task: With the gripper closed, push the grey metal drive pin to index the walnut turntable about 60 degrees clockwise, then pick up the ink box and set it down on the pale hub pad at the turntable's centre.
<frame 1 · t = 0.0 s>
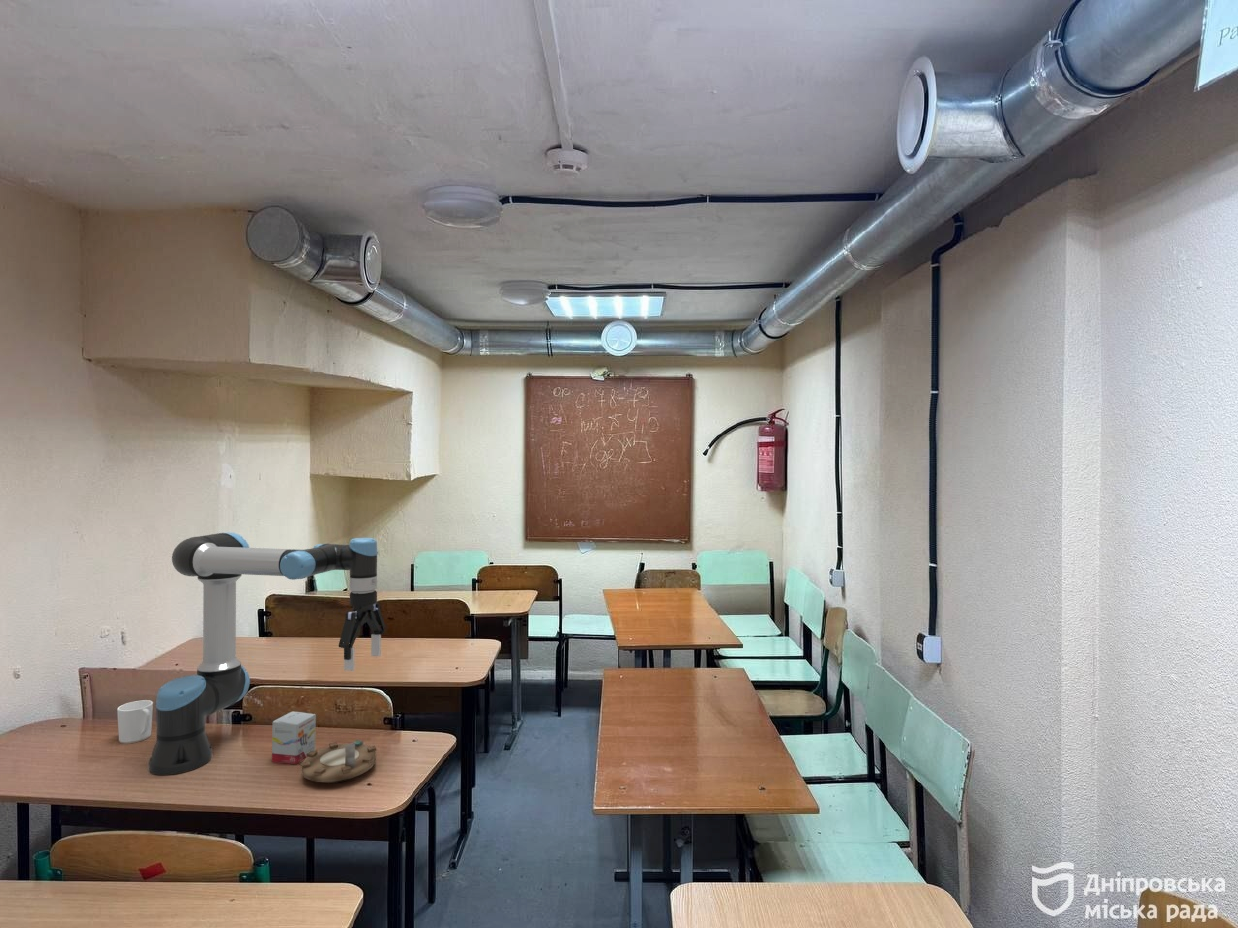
hand: (363, 662, 189), 28 cm above the table, fingers open, 13 cm apart
turntable: (339, 750, 181), point 6 cm above the table, hinge at 0.0°
ink box: (294, 757, 190), on the table
turntable base: (339, 772, 181), on the table
mug: (137, 739, 201), on the table
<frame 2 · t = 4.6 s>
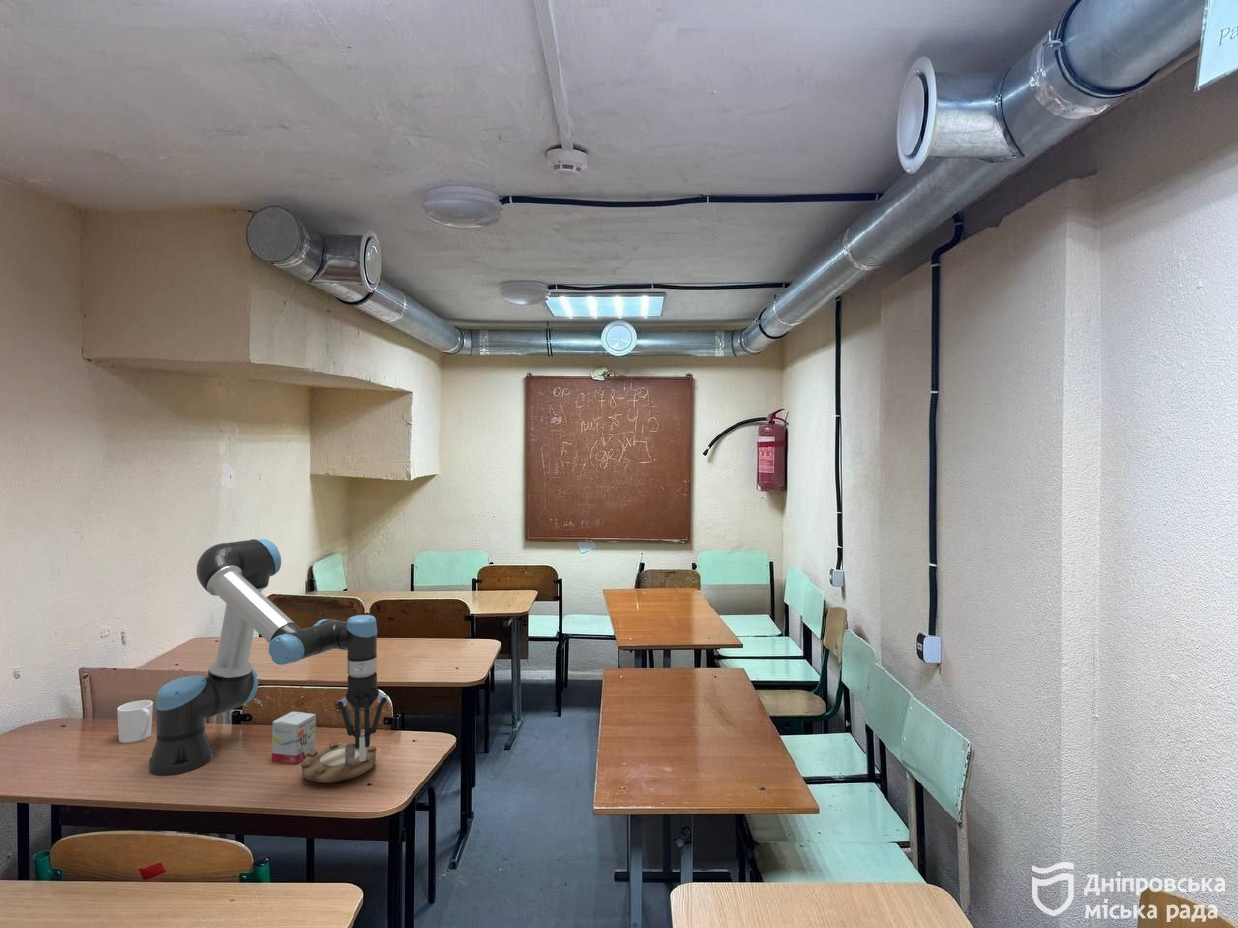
hand: (362, 758, 176), 6 cm above the table, fingers closed
turntable: (339, 750, 181), point 6 cm above the table, hinge at -0.3°, touching gripper
everything else where it was.
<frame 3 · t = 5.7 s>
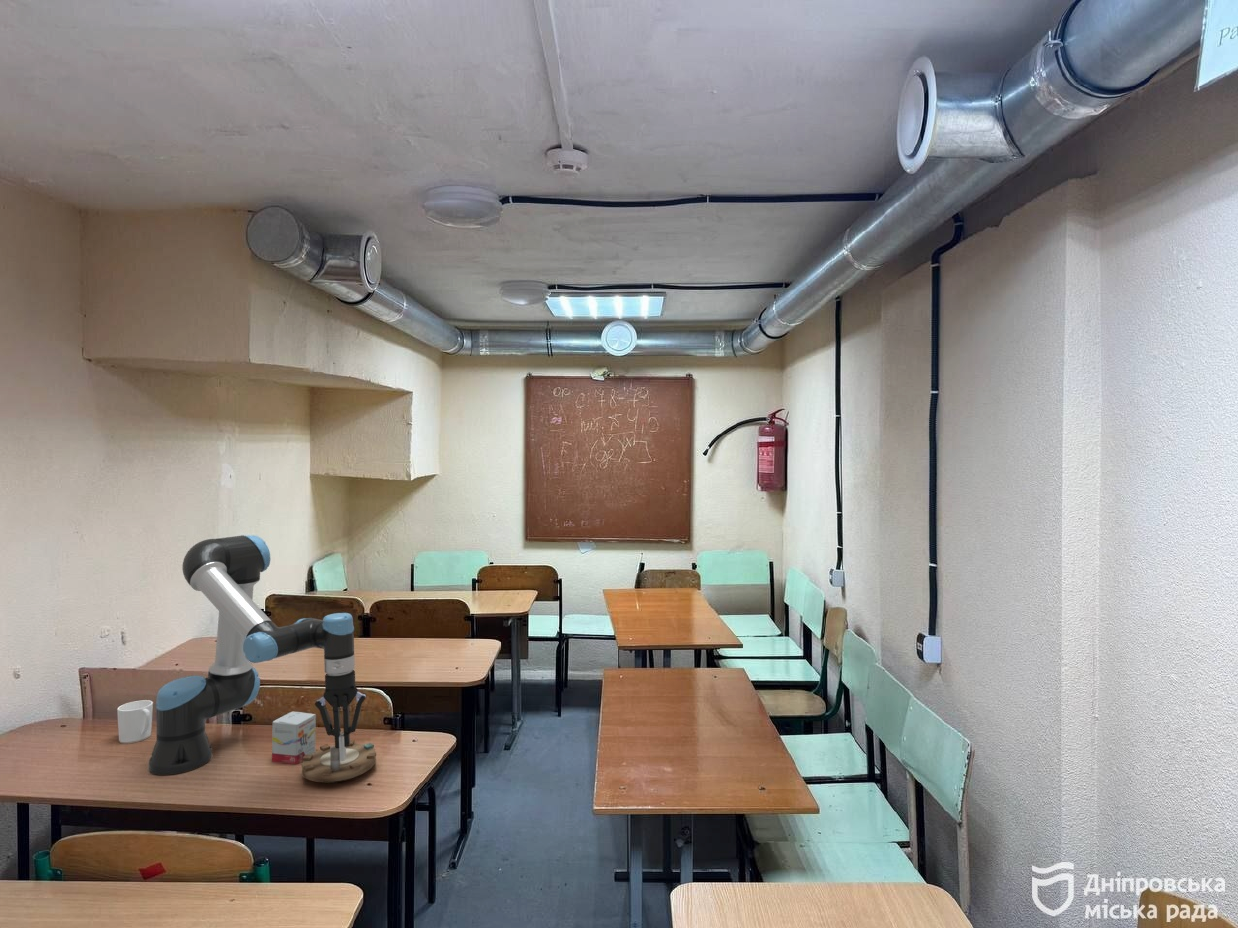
hand: (343, 758, 174), 7 cm above the table, fingers closed
turntable: (339, 750, 181), point 6 cm above the table, hinge at -29.5°, touching gripper
everything else where it was.
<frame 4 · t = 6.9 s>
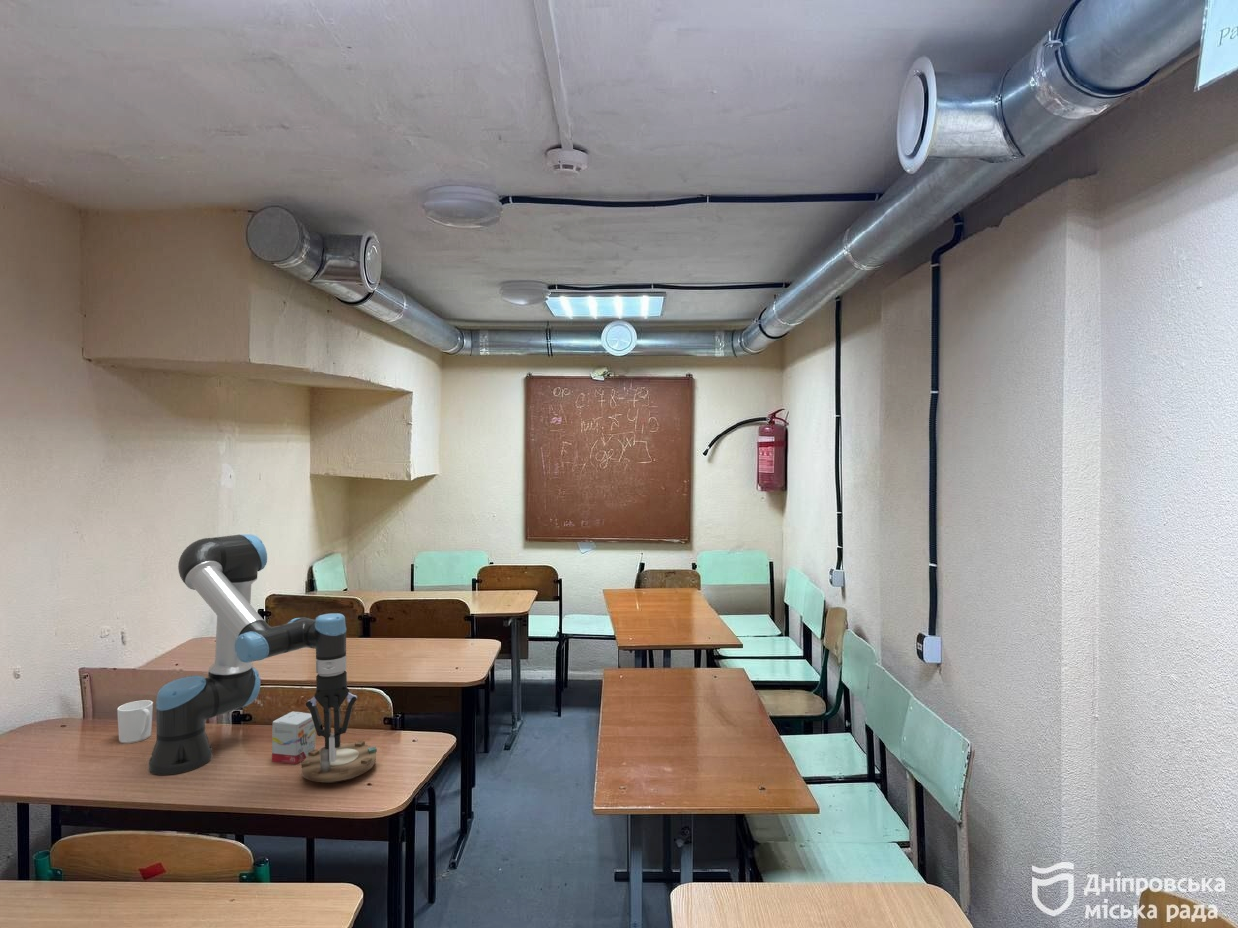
hand: (333, 759, 174), 7 cm above the table, fingers closed
turntable: (339, 750, 181), point 6 cm above the table, hinge at -49.7°, touching gripper
everything else where it was.
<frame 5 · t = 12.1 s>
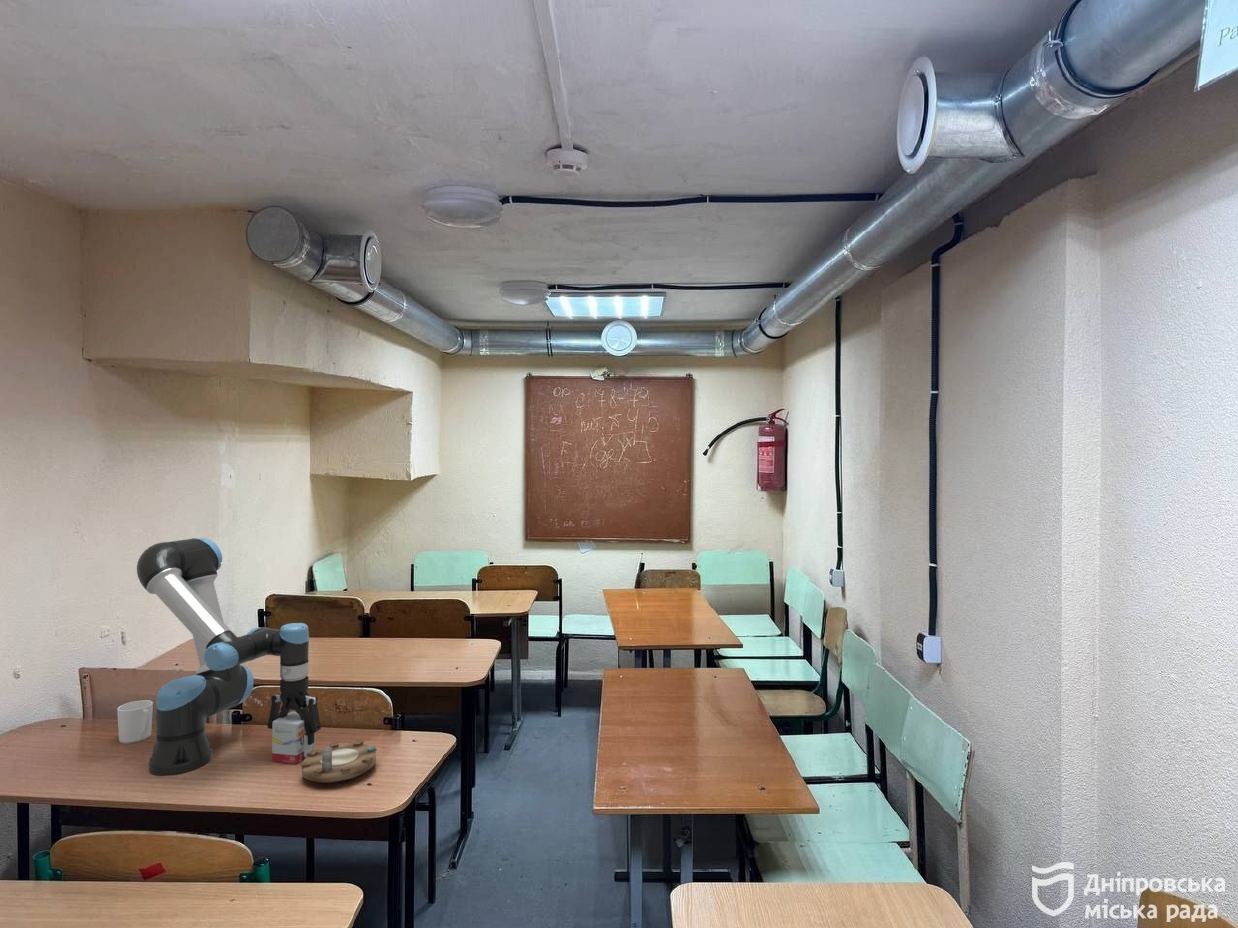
hand: (294, 753, 190), 1 cm above the table, fingers closed on ink box, 9 cm apart
turntable: (339, 750, 181), point 6 cm above the table, hinge at -46.2°
ink box: (294, 757, 190), on the table, touching gripper
everything else where it was.
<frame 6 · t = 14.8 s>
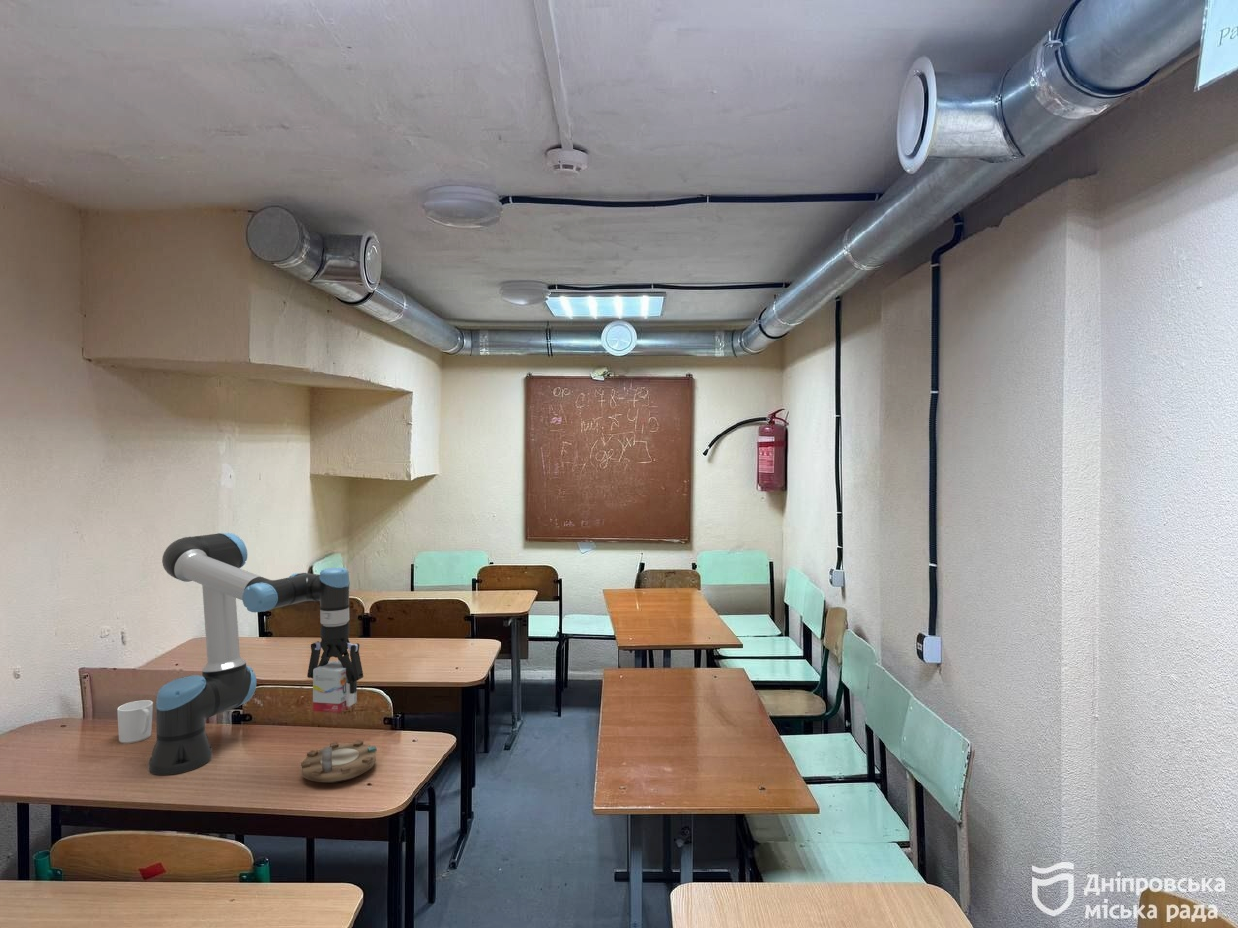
hand: (335, 703, 181), 19 cm above the table, fingers closed on ink box, 9 cm apart
ink box: (335, 707, 181), point 18 cm above the table, touching gripper
everything else where it was.
when the fingers open (7 cm above the table, at t = 17.6 s): ink box drops 2 cm, resting on turntable.
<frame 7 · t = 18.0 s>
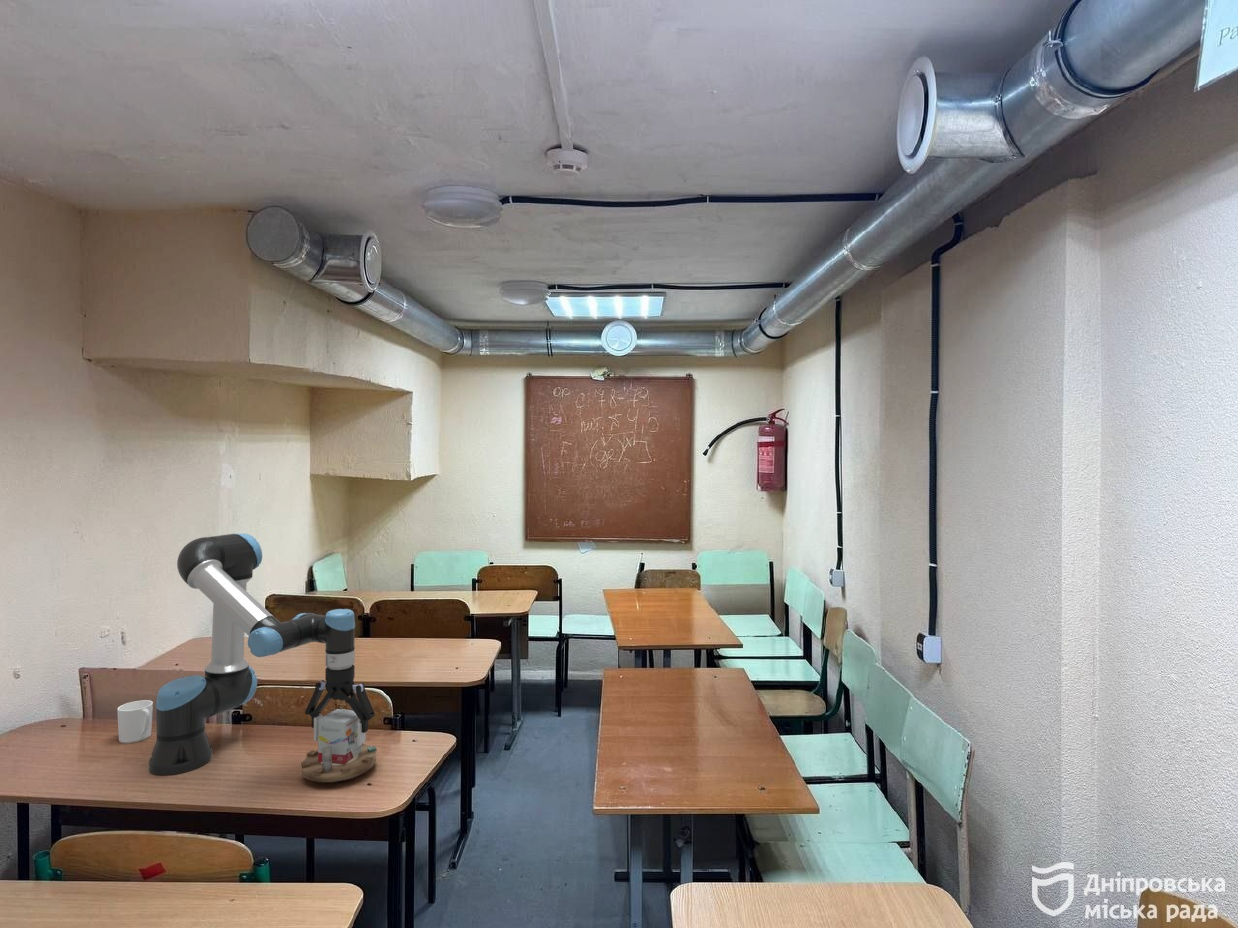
hand: (339, 741, 181), 9 cm above the table, fingers open, 13 cm apart
turntable: (339, 750, 181), point 6 cm above the table, hinge at -46.2°, touching ink box
ink box: (340, 756, 181), point 4 cm above the table, touching turntable
everything else where it was.
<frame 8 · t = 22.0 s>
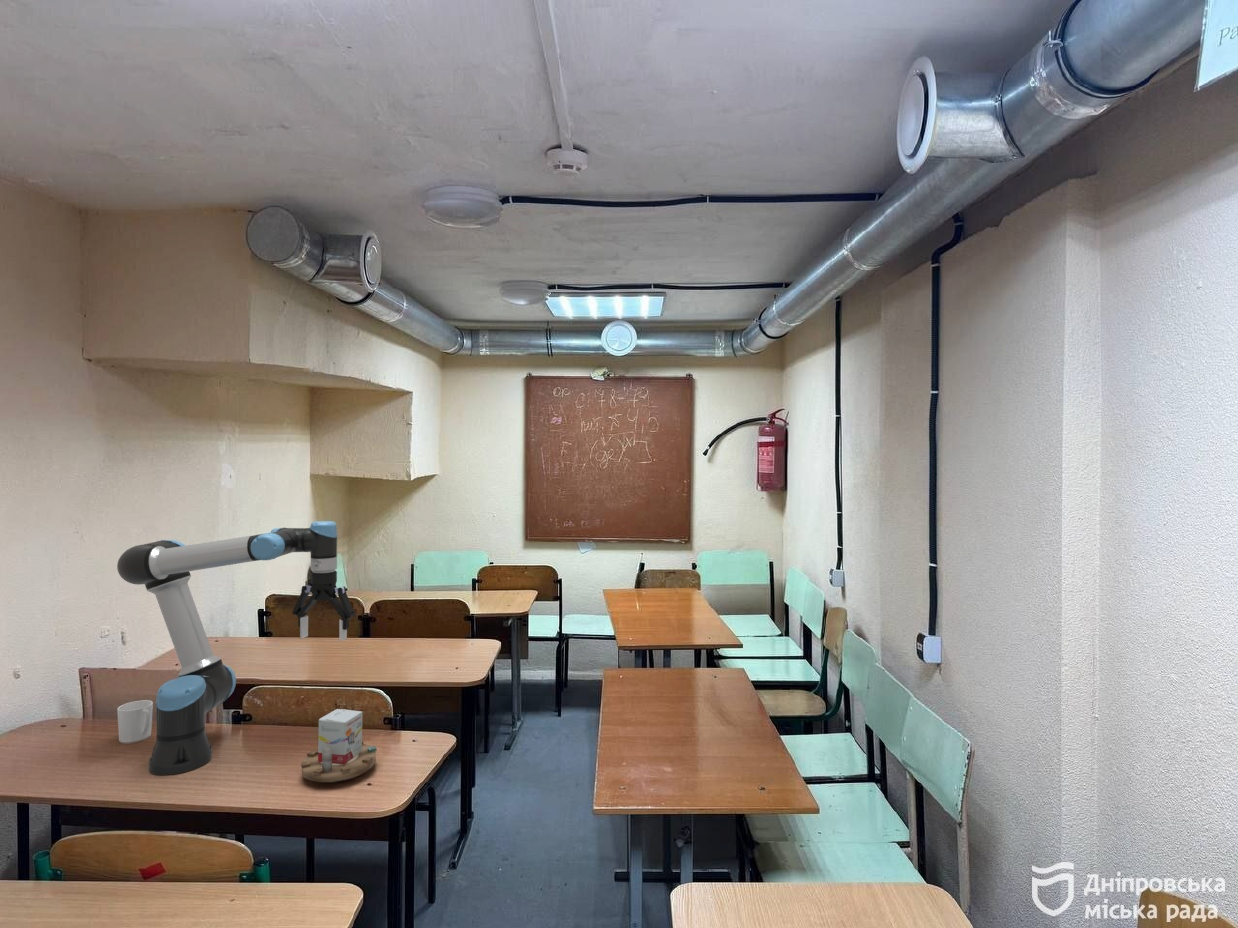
hand: (323, 638, 201), 32 cm above the table, fingers open, 13 cm apart
nothing on the table moved.
at the end: turntable at -46° (first picture: +0°); ink box inside the target area on the turntable (0.2 cm from its centre), point 4.3 cm above the turntable's base; ink box tilted 0° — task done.
